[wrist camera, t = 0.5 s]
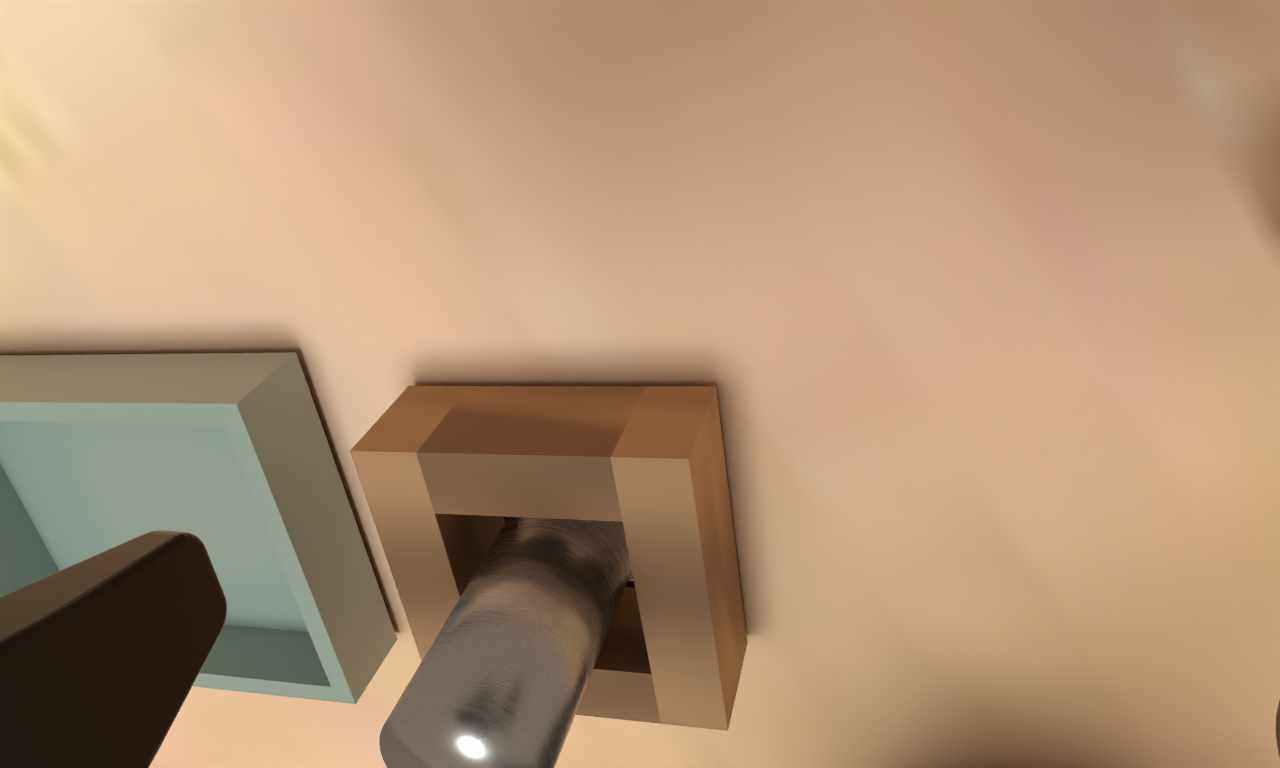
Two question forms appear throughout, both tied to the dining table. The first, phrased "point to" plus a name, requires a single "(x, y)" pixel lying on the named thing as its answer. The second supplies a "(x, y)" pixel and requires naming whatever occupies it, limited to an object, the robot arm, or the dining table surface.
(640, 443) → the socket block
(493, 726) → the pin
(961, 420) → the dining table surface
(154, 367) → the tray
